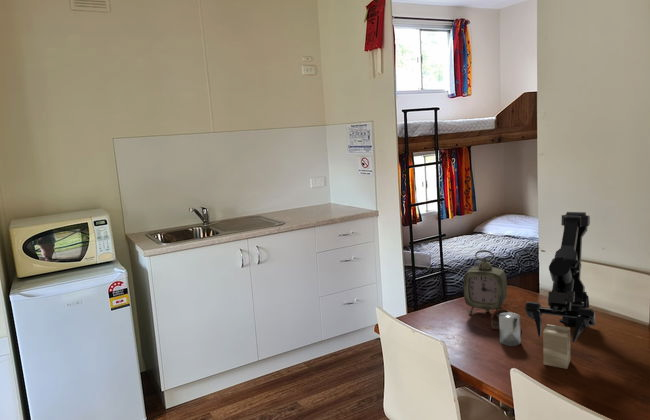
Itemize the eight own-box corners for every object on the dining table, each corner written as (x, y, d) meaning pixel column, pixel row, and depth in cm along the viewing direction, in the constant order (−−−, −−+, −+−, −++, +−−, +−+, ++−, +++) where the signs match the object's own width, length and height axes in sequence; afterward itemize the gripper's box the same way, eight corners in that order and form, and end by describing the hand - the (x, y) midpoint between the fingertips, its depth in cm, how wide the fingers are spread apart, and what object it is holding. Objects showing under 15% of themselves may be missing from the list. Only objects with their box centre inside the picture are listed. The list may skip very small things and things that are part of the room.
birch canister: (547, 356, 151) (546, 324, 150) (570, 360, 148) (570, 327, 146) (543, 364, 147) (543, 331, 145) (567, 368, 143) (567, 334, 141)
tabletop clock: (464, 315, 189) (461, 251, 185) (470, 307, 196) (468, 246, 192) (503, 320, 181) (502, 254, 177) (508, 311, 189) (507, 248, 185)
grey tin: (511, 336, 167) (510, 310, 166) (524, 343, 161) (524, 317, 160) (495, 340, 165) (494, 314, 164) (508, 347, 159) (507, 321, 158)
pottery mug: (527, 334, 169) (517, 317, 166) (501, 345, 171) (491, 329, 169) (515, 313, 180) (506, 297, 177) (491, 324, 182) (482, 308, 180)
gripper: (525, 276, 152) (517, 323, 145) (594, 282, 141) (589, 333, 134) (531, 293, 159) (524, 338, 152) (597, 300, 149) (592, 349, 142)
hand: (556, 339), depth 145 cm, fingers open, 9 cm apart
